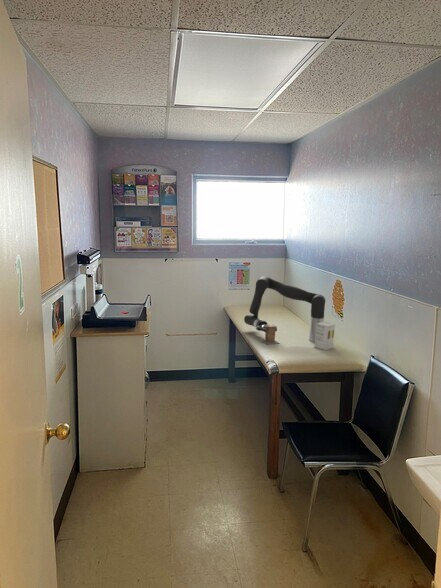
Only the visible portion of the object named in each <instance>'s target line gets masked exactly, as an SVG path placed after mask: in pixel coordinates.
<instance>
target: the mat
mask: <svg viewBox="0 0 441 588" xmlns="http://www.w3.org/2000/svg"><path fill="white" fill-rule="evenodd" d="M260 342H262V343H263V344H265V345H279V344H280V342H279V341H277V340H275V342H270V343H268V342H266V341H265V339H260Z"/></svg>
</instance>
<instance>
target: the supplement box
mask: <svg viewBox="0 0 441 588" xmlns="http://www.w3.org/2000/svg"><path fill="white" fill-rule="evenodd" d="M335 328H336V323H331V322H327V321H324V322H321V323H317V324H316V336H315V342H314V347H315V348H318V349H320V350H324V351H327V350H330V349H333V348H334V341H335V340H334V339H335Z"/></svg>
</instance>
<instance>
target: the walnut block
mask: <svg viewBox="0 0 441 588" xmlns="http://www.w3.org/2000/svg"><path fill="white" fill-rule="evenodd" d="M273 325H274V324H268V325H266V332H264V333H265V334H264V336H265V337H264V340H265V341H266V342H268V343H270V342H275V341H276V331H275V329H276V327H275V326H276V325H275V326H273Z"/></svg>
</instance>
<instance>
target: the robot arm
mask: <svg viewBox="0 0 441 588" xmlns="http://www.w3.org/2000/svg"><path fill="white" fill-rule="evenodd" d="M267 289H270V290H273V291H275V292H277V293H279V294H280V295H281V296H283V297H285V298H287V299H290V300H295V301H302V302H306V303H308V304H311V305H310V307H311V308H310V323H309V336H308V340H309V341H310V342H312V343H313V342H314V343H315V336H316V324H317V323H321V322H325V321H324V320H325V310H326V309H325V307H326V298H325V296H323V295H322V294H318V293H314V292H310V291H306V290H304V289H301V288H299V287H297V286H294V285H290V284H287V283H284V282H281V281H278V280H275V279H272V277H271V278H270V277H268V276H265V275H263V276H260V277H259V278H258V279H257V280H256V282H255V289H254V295H253V298H252V301H251V304H250V306H249V313H250V314H247V315H245V316H244V318H243V321H244V323H245V324H246V325H248V326H252V327H254V328H255V330H257V331H259V332H260V331H261V332H264V333H266V325H269V324H268V323H267V321H266V320H264V319H261V318H259V312H260V308H261V305H262V300H263V296H264V294H265V291H266V290H267ZM272 325H273V326H275V327H276V329H275V332H277V331H278V326H277V325H275V324H272Z"/></svg>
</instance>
